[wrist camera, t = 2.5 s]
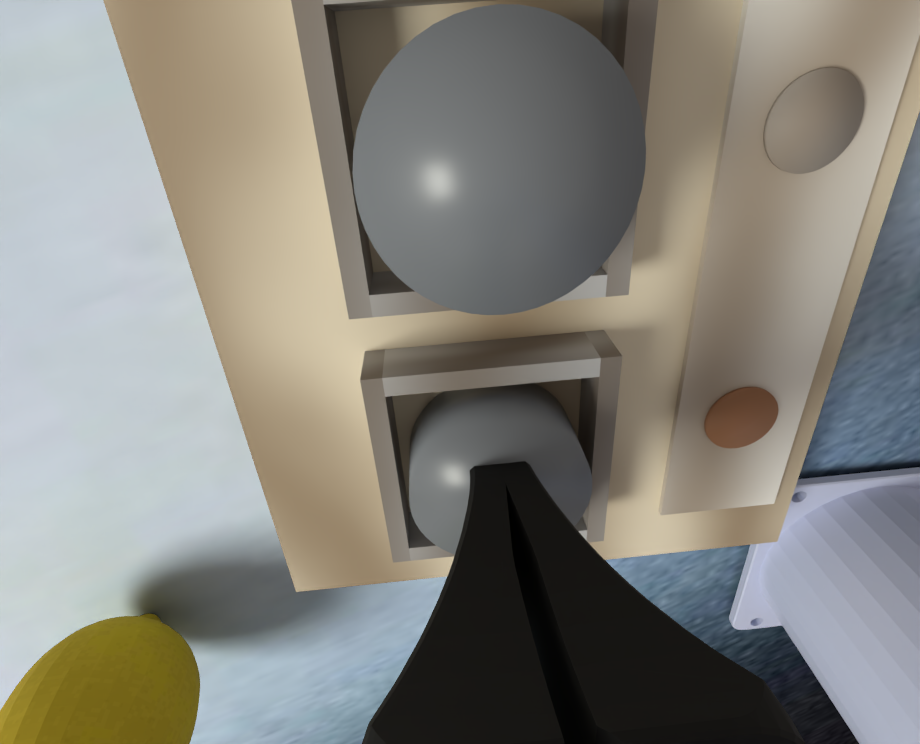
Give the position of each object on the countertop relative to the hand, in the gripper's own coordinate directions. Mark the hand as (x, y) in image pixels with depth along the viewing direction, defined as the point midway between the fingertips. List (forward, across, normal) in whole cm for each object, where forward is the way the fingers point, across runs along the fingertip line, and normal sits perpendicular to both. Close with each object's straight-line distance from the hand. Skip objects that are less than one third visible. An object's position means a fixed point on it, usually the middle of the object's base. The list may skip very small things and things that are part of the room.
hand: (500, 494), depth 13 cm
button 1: (+2, 0, 0) cm, 2 cm away
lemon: (+4, +13, +8) cm, 16 cm away
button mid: (+1, 0, -8) cm, 8 cm away
